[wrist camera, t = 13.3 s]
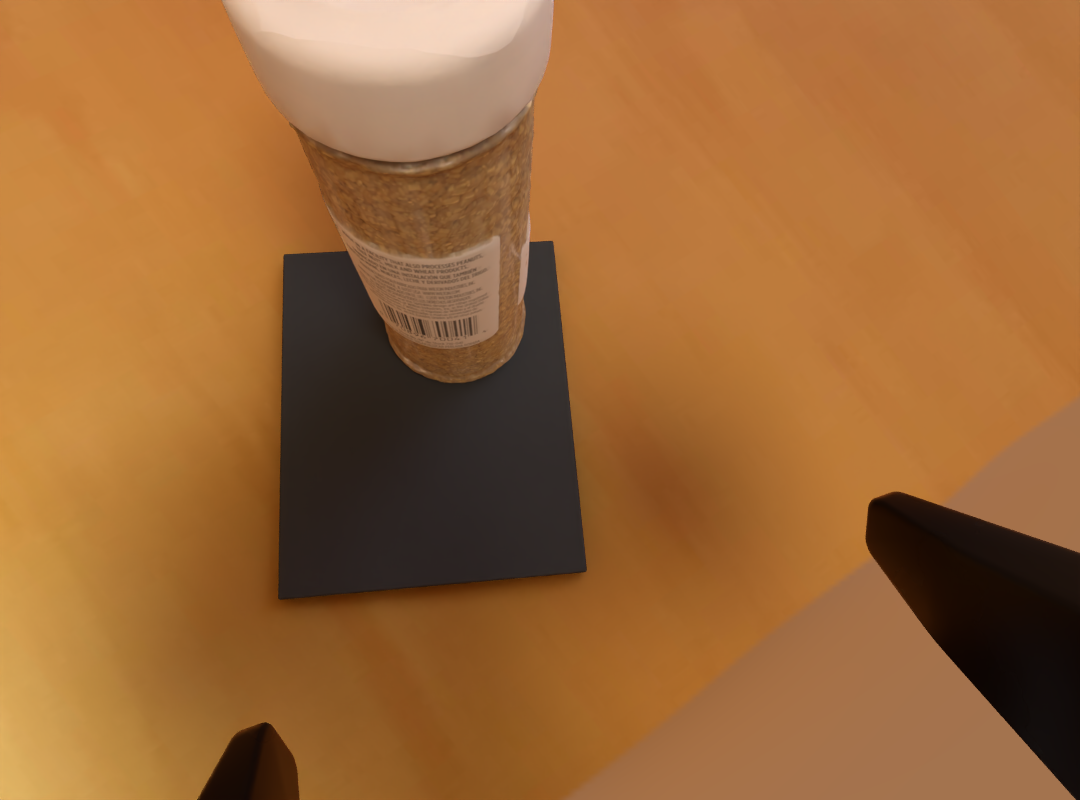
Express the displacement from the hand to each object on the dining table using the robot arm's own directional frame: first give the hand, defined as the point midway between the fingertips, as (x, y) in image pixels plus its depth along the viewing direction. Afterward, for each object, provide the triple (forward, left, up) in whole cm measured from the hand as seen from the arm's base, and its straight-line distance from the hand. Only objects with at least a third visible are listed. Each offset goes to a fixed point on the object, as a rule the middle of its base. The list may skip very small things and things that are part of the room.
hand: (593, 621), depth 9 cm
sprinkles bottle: (+9, +2, -10) cm, 14 cm away
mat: (+6, +3, -11) cm, 13 cm away
